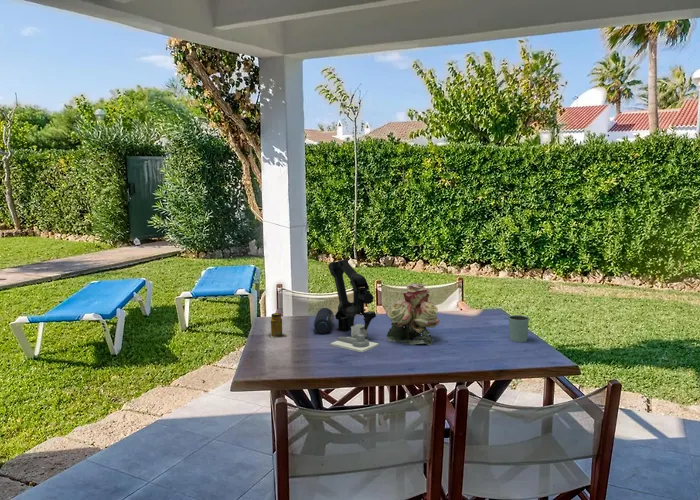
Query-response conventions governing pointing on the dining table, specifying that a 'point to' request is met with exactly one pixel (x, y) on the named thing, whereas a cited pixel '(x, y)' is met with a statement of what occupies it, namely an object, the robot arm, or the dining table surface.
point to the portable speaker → (323, 320)
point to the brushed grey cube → (358, 330)
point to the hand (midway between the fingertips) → (358, 328)
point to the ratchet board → (349, 346)
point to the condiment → (276, 326)
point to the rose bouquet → (412, 316)
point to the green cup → (518, 328)
